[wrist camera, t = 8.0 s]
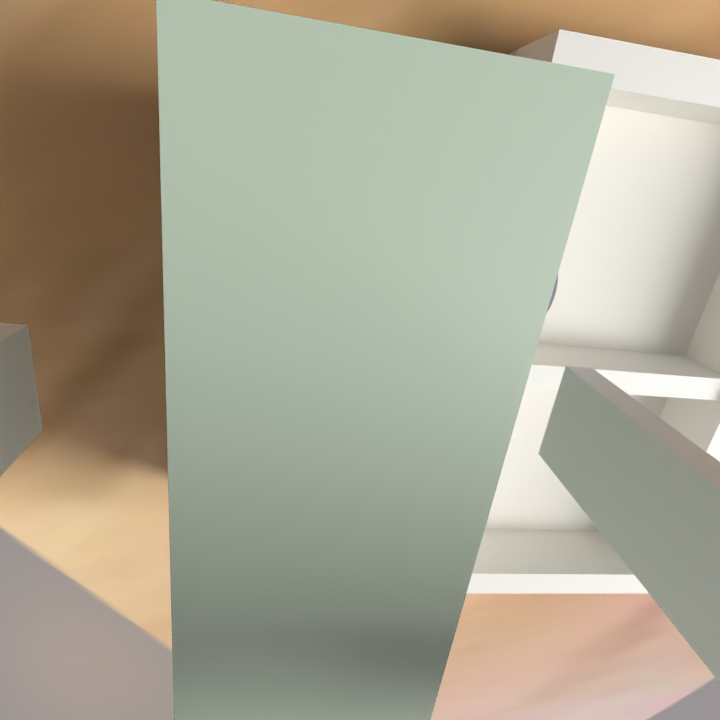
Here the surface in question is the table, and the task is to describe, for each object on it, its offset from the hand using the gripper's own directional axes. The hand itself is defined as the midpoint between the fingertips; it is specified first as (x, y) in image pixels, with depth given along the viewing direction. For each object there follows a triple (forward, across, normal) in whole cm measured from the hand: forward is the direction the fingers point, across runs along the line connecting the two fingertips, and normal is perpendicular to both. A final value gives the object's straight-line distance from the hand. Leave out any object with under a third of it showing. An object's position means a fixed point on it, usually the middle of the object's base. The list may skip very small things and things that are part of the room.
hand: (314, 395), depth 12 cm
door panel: (+5, 0, 0) cm, 5 cm away
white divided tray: (+5, +10, 0) cm, 11 cm away
